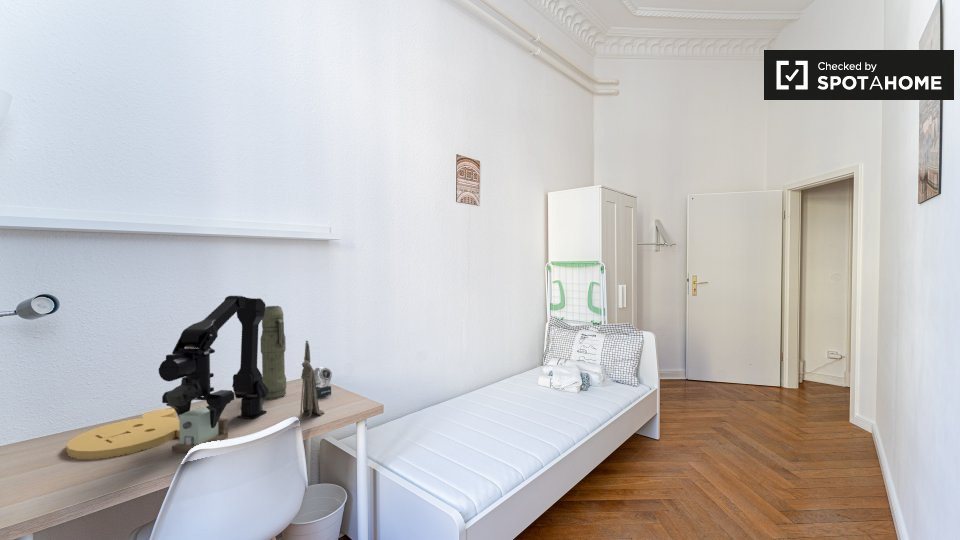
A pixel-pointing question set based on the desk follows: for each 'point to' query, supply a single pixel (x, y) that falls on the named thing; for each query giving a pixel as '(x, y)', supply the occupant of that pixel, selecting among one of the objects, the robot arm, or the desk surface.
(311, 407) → the wizard figurine
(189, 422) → the cabinet block
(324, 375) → the watch
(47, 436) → the desk surface
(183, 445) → the cleat board
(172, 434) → the decorative plaque
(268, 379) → the thermos
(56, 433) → the desk surface
